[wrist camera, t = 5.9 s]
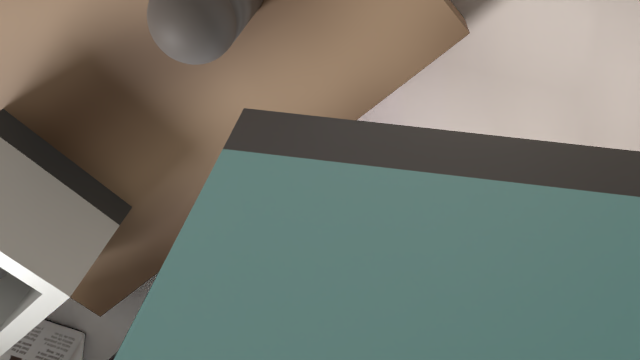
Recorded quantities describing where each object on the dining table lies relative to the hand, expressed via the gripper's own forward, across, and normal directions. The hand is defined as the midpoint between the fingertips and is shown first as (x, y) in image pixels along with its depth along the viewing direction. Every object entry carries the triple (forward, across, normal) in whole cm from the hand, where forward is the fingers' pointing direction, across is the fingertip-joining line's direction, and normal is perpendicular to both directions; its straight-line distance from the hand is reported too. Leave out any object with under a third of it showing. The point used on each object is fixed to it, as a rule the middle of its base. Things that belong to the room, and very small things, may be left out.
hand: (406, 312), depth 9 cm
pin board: (+11, +10, +2) cm, 15 cm away
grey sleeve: (+10, +14, +7) cm, 19 cm away
